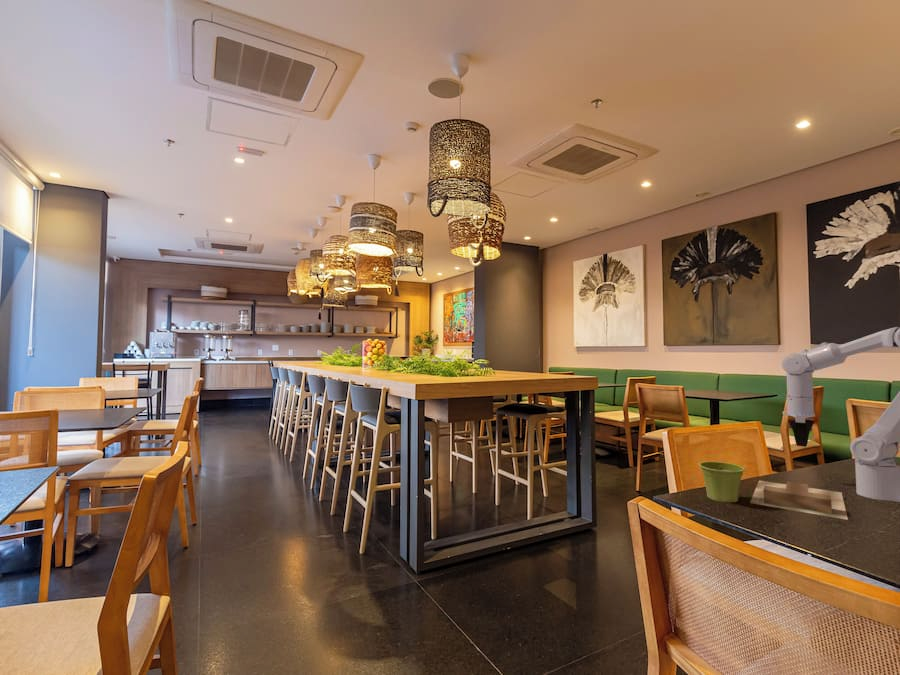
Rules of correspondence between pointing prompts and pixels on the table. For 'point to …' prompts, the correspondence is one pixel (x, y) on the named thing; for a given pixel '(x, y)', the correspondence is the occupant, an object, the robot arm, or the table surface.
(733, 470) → the plant pot
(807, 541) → the table surface
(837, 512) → the t board
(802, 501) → the t block
